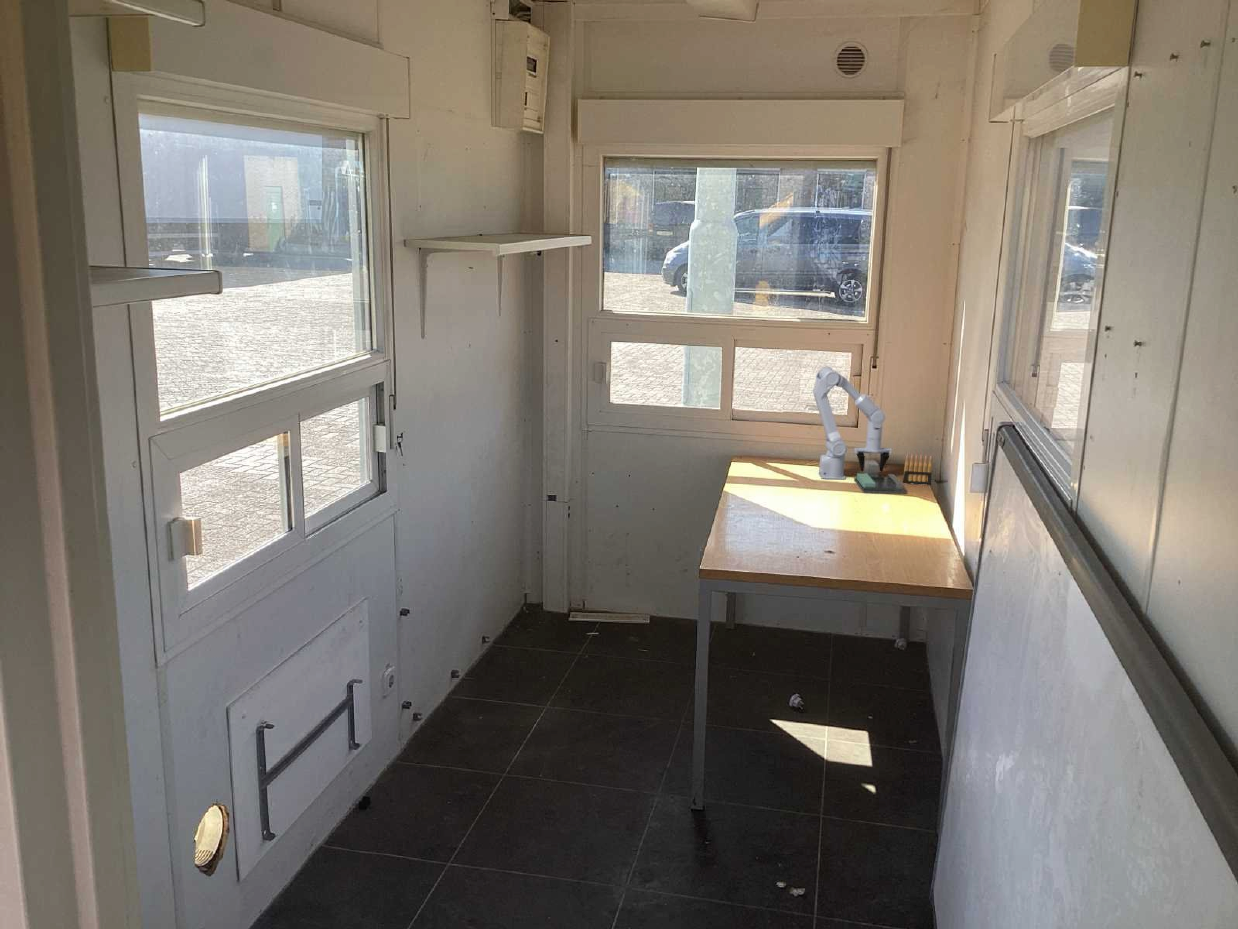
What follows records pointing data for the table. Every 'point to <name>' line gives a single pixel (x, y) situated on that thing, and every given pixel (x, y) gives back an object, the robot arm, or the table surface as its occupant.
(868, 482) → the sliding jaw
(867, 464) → the steel block
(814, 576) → the table surface
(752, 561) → the table surface
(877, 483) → the vise bed
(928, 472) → the ammunition clip
